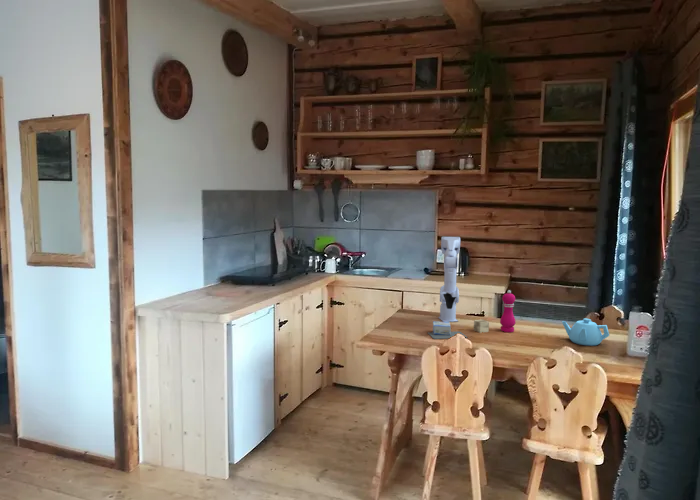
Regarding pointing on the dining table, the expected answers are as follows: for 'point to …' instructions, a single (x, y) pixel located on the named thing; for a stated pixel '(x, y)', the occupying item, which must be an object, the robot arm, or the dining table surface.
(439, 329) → the medicine box
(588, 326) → the teapot
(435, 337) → the mat
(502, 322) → the pepper mill
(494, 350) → the dining table surface
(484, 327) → the beech block
